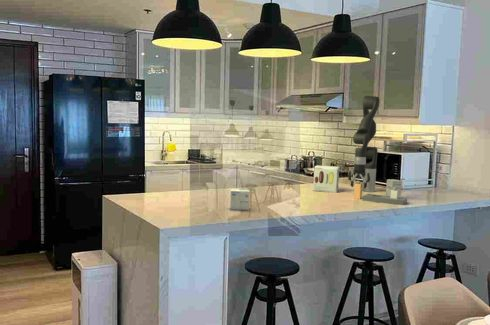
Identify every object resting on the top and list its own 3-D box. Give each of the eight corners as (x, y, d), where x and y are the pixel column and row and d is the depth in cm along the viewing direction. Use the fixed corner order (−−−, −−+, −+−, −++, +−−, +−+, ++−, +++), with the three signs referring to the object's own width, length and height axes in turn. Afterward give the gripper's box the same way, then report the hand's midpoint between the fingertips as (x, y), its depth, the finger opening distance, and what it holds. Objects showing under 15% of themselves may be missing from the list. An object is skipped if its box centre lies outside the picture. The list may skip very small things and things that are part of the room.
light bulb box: (248, 207, 278) (249, 189, 277) (249, 210, 271) (249, 191, 270) (230, 207, 278) (230, 188, 277) (230, 209, 271) (230, 190, 270)
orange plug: (355, 197, 328) (356, 180, 327) (361, 198, 326) (362, 180, 325) (354, 198, 325) (354, 180, 324) (359, 199, 323) (360, 181, 322)
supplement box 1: (312, 191, 353) (313, 166, 351) (315, 188, 366) (316, 165, 364) (336, 193, 348) (337, 168, 346) (338, 190, 361) (339, 166, 359)
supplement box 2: (385, 197, 335) (386, 179, 334) (394, 197, 337) (396, 179, 336) (391, 199, 328) (392, 180, 327) (400, 198, 330) (402, 180, 329)
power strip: (367, 198, 328) (368, 183, 327) (407, 202, 315) (408, 187, 314) (362, 200, 318) (363, 185, 317) (403, 205, 305) (404, 189, 304)
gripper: (372, 164, 323) (370, 188, 324) (351, 162, 330) (349, 186, 331) (368, 164, 317) (367, 189, 318) (347, 163, 324) (346, 187, 325)
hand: (358, 187), depth 325 cm, fingers open, 8 cm apart
